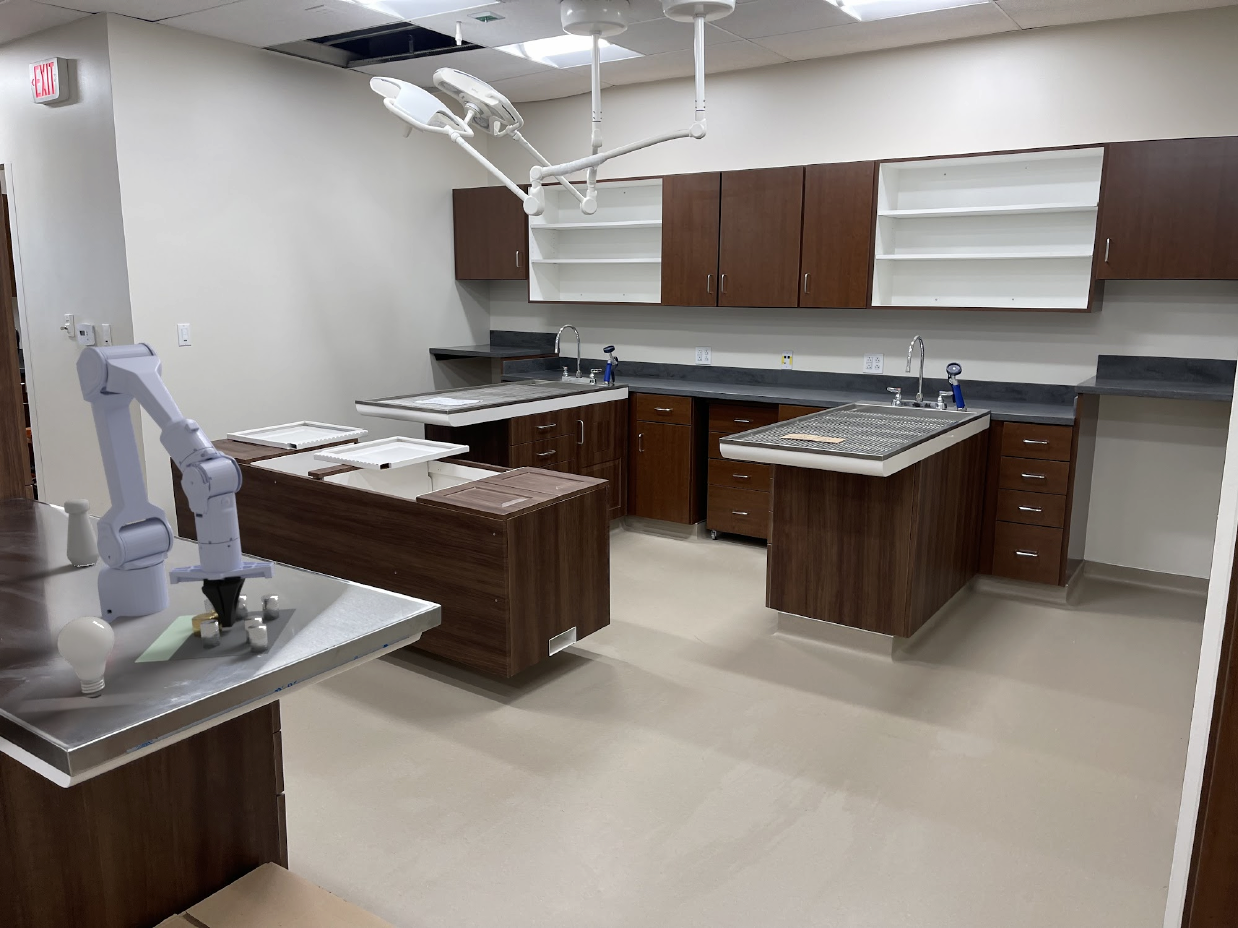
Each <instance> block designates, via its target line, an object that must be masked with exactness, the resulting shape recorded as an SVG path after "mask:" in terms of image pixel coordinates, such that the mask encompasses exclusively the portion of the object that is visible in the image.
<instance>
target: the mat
mask: <svg viewBox="0 0 1238 928" xmlns="http://www.w3.org/2000/svg"><path fill="white" fill-rule="evenodd" d="M296 610H297V608H284V609H282V608H281V609H279V614H280V617H279V618H278V619H275V620H264V619H263V610H258V611H257V610H254V611H252V610H251V611H248V617H249V616H256V615H257V616H261V617H262V624H266V629H267V638H268V647H269V649H268V650H267V651H264V652H261V653H252V652H251V650H250V644H248V643H247V642H246V633H245V624H244V619H243V620H235V623H234V625H233V626H232V627H226V628H223V627H222V632H221V633H219V634H220V643H221V644H220V645H219V646H217V647H215V648H208V649H207V648H203V646H202V637H195V636H194V635H193V627H192V618H193V617H195V616H197V615H198V614H191V615H179V616H178V617H177V618H176V619H175V620H174V621H173V622H172V623H171V624H170V625H169V626H168V627H166V629H165V630H164V631H163V632H162V633H161V634H160V636H158V637H157V639H155V640H154V642H152V644H151V645H150V646H149V647H148V648H147V649H146V650H145V651H144V652H142V654H141V655H139V657H137V659H136V660H135V661H134V662H133V663H134V664H135V663H147V662H149V663H150V662H160V661H161V662H162V661H163V662H164V661H176V660H177V661H179V660H191V659H205V658H207V659H209V658H223V657H236V656H248V655H249V656H250V655H265V654H269V652H270V651H271V649H272V648H273V646H274V645H275V643H276V641H277V640H278V638H279V637H280V636H281V633H283V630H284V629H285V628H286V626H287V624H288V623H289V621H290V619H291V618H292V616H293V615H294V613H295V612H296Z"/></svg>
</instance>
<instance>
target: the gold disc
mask: <svg viewBox="0 0 1238 928" xmlns="http://www.w3.org/2000/svg"><path fill="white" fill-rule="evenodd" d="M196 615H197V616H195V617H193V618H192V627H193V635H194V636H195V637H201V629H200V623H201V622H203V621H206V620H212V619H214V620H218V626H219V633H221V632H222V624H221V622H220V619H219V617H218V614H217V613H214V612H212V613H206V612H205V613H204V612H203V613H199V614H196Z"/></svg>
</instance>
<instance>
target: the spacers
mask: <svg viewBox="0 0 1238 928" xmlns="http://www.w3.org/2000/svg"><path fill="white" fill-rule="evenodd" d="M260 599H261V607H262V608H261V609H262V610H261V611H263V619H264V620H275V619H278V618H279V617H280V614H279V610H280V606H279V596H278V594H277V593H268V594H264V595H262V596H261V598H260ZM248 609H249V608H248V600H247V594H245V593H240V595H239V599H238V603H237V608H236V615H235V620H243V619H244V624H245V633H246V642H247V643H248V644H250V650H251V652H252V653H261V652H264V651H267V650H268V649H269V647H268V638H267V629H266V624H262V617H261V616H257V615H256V616H249V617H248V612H249V610H248ZM204 610H205V611H204V612H205V613H212V612H214V613H217V612H216V610H215V609H214V607H213V605H212V604H211V602H210V601H209V599H208V598H207V599H205V600H204ZM200 629H201V637H202V646H203V648H207V649H208V648H215V647H217V646H219V645H220V644H221V643H220V634H219V626H218V620H214V619H212V620H206V621H203V622H201V623H200Z"/></svg>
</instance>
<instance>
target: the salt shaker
mask: <svg viewBox="0 0 1238 928" xmlns="http://www.w3.org/2000/svg"><path fill="white" fill-rule="evenodd" d="M63 508H64V509H63V510H64V513H66V514H68V517H67V521H68V522H67V540H66V541H67V543H66V557H67V559H68V560H69V562H70V563H71V564H72V565H75V566H78V565H79V566H80V565H87V564H92V563H96V562H97V561H99V558H100V555H99V552H98V548H97V540H98V537H97V535H96V532H95V530H94V527H93V525H92V522H91V519H90V516H89V514H88V513H89V512H88V511H89V510H90V509H91V506H90V501H89V500H88V499H87V498H73V499H68V500H67V501H65V502H64V504H63ZM97 563H98V562H97ZM97 563H96V564H97ZM75 566H74V567H75Z"/></svg>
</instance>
